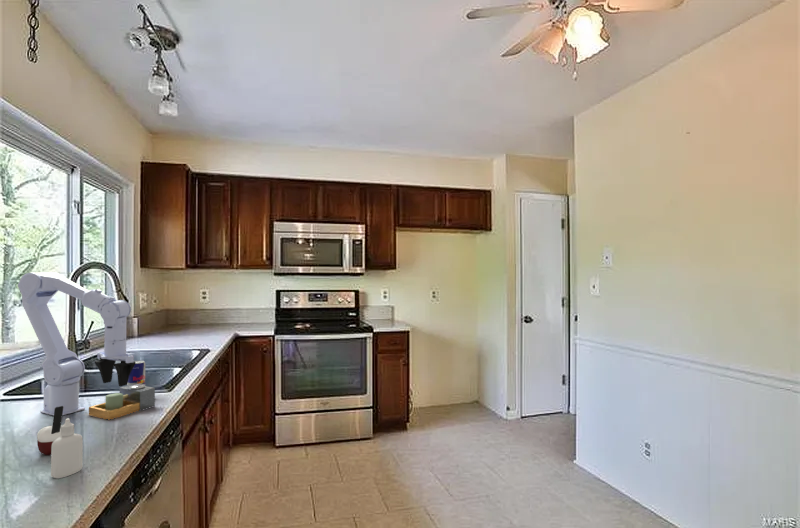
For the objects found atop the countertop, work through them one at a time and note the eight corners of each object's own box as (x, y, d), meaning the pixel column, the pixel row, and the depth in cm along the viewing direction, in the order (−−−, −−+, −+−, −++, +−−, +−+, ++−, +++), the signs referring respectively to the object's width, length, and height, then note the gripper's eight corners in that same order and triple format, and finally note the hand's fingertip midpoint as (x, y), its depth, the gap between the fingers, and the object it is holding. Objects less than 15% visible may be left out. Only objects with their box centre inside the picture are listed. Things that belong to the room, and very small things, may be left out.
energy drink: (136, 399, 153) (137, 364, 153) (123, 398, 154) (123, 363, 154) (148, 395, 159) (149, 360, 159) (135, 394, 160) (135, 360, 160)
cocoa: (41, 449, 113) (40, 401, 113) (72, 444, 116) (70, 397, 116) (32, 463, 105) (31, 410, 105) (65, 456, 108) (64, 406, 108)
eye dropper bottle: (50, 473, 100) (51, 418, 100) (82, 466, 103) (82, 413, 103) (50, 480, 96) (51, 424, 96) (83, 473, 100) (83, 419, 100)
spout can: (101, 414, 138) (102, 396, 138) (122, 408, 144) (122, 390, 144) (112, 416, 137) (112, 398, 137) (132, 410, 143) (132, 392, 143)
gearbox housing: (88, 415, 137) (88, 393, 137) (134, 402, 151) (134, 382, 151) (109, 420, 133) (109, 397, 133) (154, 406, 146) (154, 385, 146)
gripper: (87, 339, 139) (86, 384, 139) (117, 343, 133) (117, 390, 133) (110, 336, 146) (110, 378, 146) (140, 340, 139) (139, 384, 139)
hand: (115, 383), depth 140 cm, fingers open, 7 cm apart
